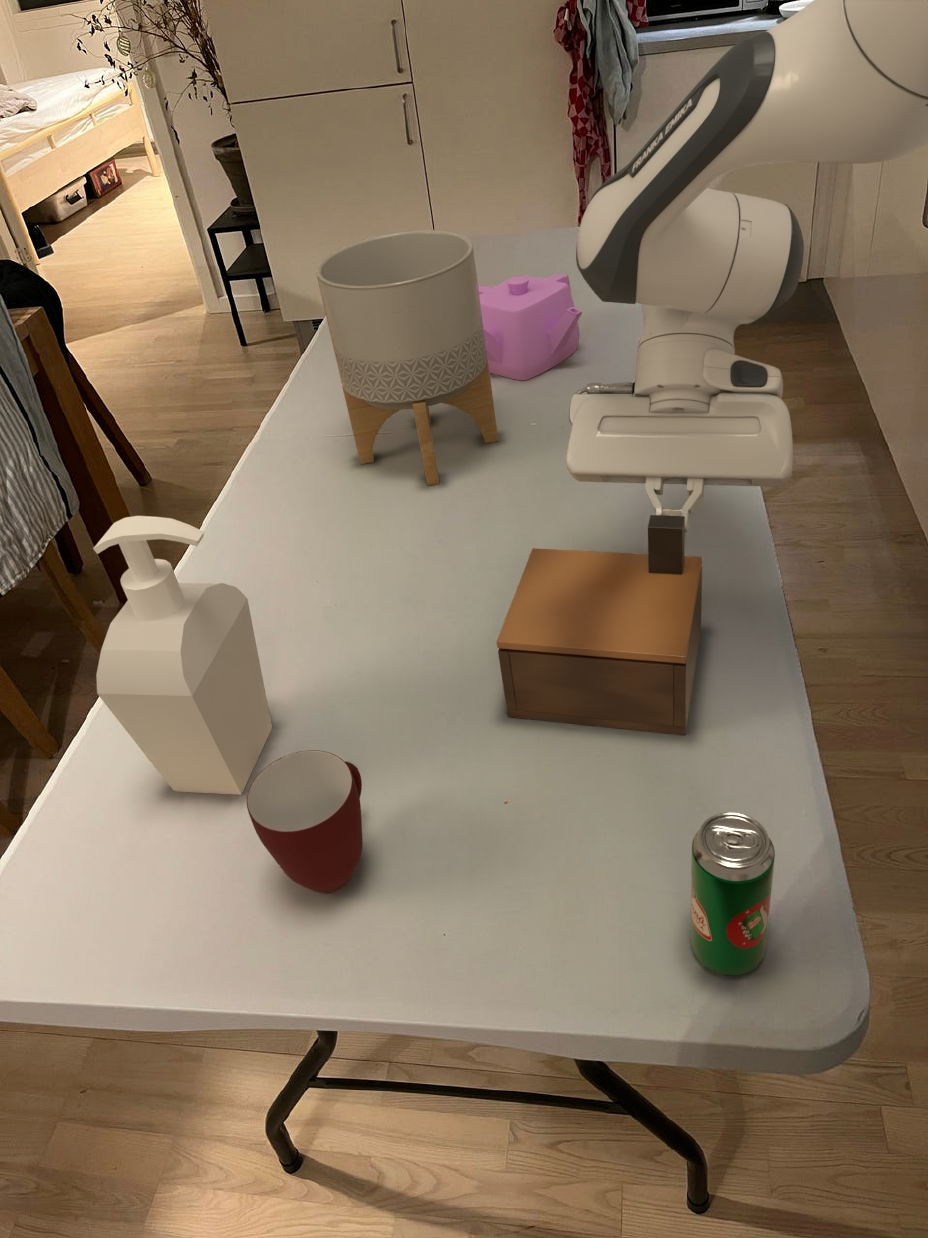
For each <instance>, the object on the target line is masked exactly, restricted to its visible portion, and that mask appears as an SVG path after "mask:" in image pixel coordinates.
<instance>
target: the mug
mask: <svg viewBox="0 0 928 1238" xmlns="http://www.w3.org/2000/svg"><path fill="white" fill-rule="evenodd" d="M362 781H363V780H362V775H361V773H360V770H359V769H358V767H357V766H356V765H355V764H354V763H352V762H350V761H345V760H344V759H342V758H341V757H340V756H338V755H336V754H334V753H332V752H328V751H326V750H325V751H324V750H317V749H316V750H315V749H310V750H300V751H296V752H292V753H289V754H287V755H284V756H282V757H279V758H278V759H276V760H274V761H273V762H271V763H269V764H268V765H267V766H266V767H264V768H263V769H262V770H261V771H260V772H259V773H258V774H257V775H256V777H255V778H254V780H253V781H252V783H251V784H250V787H249V789H248V792H247V795H246V808H247V813H248V815H249V817H250V820H251V823H252V825H253V828H254V830H255V833H256V835H257V837H258V839H259V840H260V842H261V844H262V845H263V846H264V848H265V849H266V851H267V852H268V853H269V854H270V856H271V857H272V858H273V860H274V861H275V862H276V863H277V864H278V866H279V868H280V869H281V870H282V872H283V873H284V874H285V875H286V876H287V877H288V878H289V879H290V880H291V881H293V882H294V883H296V884H297V885H299V886H301V887H303V888H306V889H307V890H311V891H313V892H316V893H322V894H326V893H327V894H328V893H333V892H336V891H338V890H340V889H342V888H343V887H344V886H346V885H347V884H348V883H349V881H350V880H351V879H352V877H353V875H354V873H355V871H356V869H357V867H358V864H359V862H360V859H361V857H362V852H363V826H362V821H363V820H362V808H361V795H362V789H363V787H362V786H363V782H362Z"/></svg>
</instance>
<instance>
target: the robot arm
mask: <svg viewBox="0 0 928 1238" xmlns="http://www.w3.org/2000/svg"><path fill="white" fill-rule="evenodd" d="M926 145H928V0H812V1H811V2H810V3H809V4H807V5H806V6H804V7H802V9H800V10H799V11H798V12H795V13H794V14H793V15H791V16H790V17H788V18H786V19H785V20H783V21H782V22H780V23H778V24H776V25H774V26H773V27H771V28H769V29H766V30H765V31H761V32H758V33H756V34H754V35H752V36H749V37H747V38H745V39H742V40H741V41H739V42H737V43H736V44H734V45H733V46H732V47H731V48H729V50H727V52H726V53H724V54H723V55H722V56H721V57H720V58H719V60H717V62H716V63H715V64H714V65H713V66H712V67H711V68H710V69H709V70H708V71H707V73H706V74H705V75H704V76H703V77H702V78H701V79H700V80H699V81H698V82H697V84H695V86H694V87H693V88H692V89H691V90H690V92H688V94H687V95H686V96H685V97H684V98H683V99H682V100H681V102H680V103H679V104H678V105H677V107H676V108H675V109H674V110H673V111H672V112H671V114H670V115H669V116H668V117H667V118H666V119H665V120H664V121H663V123H662V124H661V125H660V126H659V127H658V128H657V130H656V131H655V132H654V133H653V135H651V137H650V138H649V139H648V140H647V142H646V143H645V144H644V145H643V146H642V147H641V149H639V151H638V152H637V153H636V154H635V156H634V157H633V158H632V159H631V161H629V162H628V163H627V164H626V165H625V166H624V167H623V168H621V169H620V170H619V171H617V172H616V173H614V174H613V175H612V176H610V177H609V178H608V179H607V180H605V181H604V182H603V183H602V184H601V185H600V186H599V187H598V188H597V190H596V191H594V193H593V194H592V196H591V198H590V200H589V202H588V204H587V206H586V208H585V211H584V212H583V215H582V218H581V221H580V225H579V227H578V228H579V229H578V235H577V240H576V249H575V261H576V266H577V269H578V271H579V273H580V274H581V276H582V278H583V280H584V281H585V283H586V284H587V285H588V287H589V288H590V289H591V290H592V292H593V293H594V294H595V295H596V296H597V298H598V299H600V301H601V302H602V303H603V302H604V303H613V304H614V303H616V304H627V305H628V304H629V305H635V304H641V310H642V311H641V312H642V316H643V330H642V333H641V336H640V338H639V341H638V346H637V351H636V352H637V353H636V363H635V376H634V381H633V382H615V383H602V382H591V383H588V384H586V387H582V388H580V389H578V390H577V391H576V392H574V394H573V395H572V396H571V399H570V402H569V413H568V419H569V423H570V425H571V430H570V434H569V437H568V441H567V442H568V443H567V448H566V454H565V468H566V470H567V471H568V473H569V474H570V476H572V477H573V478H574V480H575V481H577V482H582V483H615V484H616V483H617V484H618V483H619V484H645V487H644V490H645V493H646V495H647V496H648V499H649V500H650V502H651V504H652V506H653V509H654V510H655V514H654V515H667V516H685V533H689V529H690V516H691V515H692V514H693V512H694V511H695V510H696V508H697V506H698V505H699V503H700V502H701V501H702V499H703V498H704V494H705V486H729V487H731V486H733V487H770V488H771V487H774V488H780V487H783V486H785V485H786V484H787V482H789V480H791V478H792V476H793V468H794V467H793V465H794V441H793V429H792V422H791V421H792V420H791V415H790V411H789V407H788V406H787V405H786V402H784V401H783V399H782V398H783V395H784V379H783V376H782V375H783V374H782V372H781V370H780V369H779V368H778V367H777V366H773V365H772V364H771V365H770V364H767V363H765V362H760V361H757V360H754V359H750V358H746V357H744V356H741V355H737V354H736V346H735V339H734V337H735V332H736V329H737V328H738V327H739V326H741V325H745V326H746V325H751V324H754V323H755V322H757V321H760V320H761V319H763V318H765V317H766V316H768V315H770V314H771V313H772V312H774V311H776V310H777V309H779V308H780V307H781V306H782V305H783V304H785V303H786V302H788V300H790V298H792V296H793V295H794V294H795V292H796V290H797V287H798V285H799V282H800V279H801V274H802V268H803V262H804V255H805V254H804V253H805V243H804V236H803V232H802V229H801V225H800V223H799V221H798V218H797V216H796V214H795V213H794V212H793V210H792V209H791V207H790V206H789V205H787V204H785V203H781V202H778V201H776V200H773V199H769V198H763V197H759V196H754V195H750V194H749V195H748V194H744V193H737V192H733V191H724V190H718V189H713V188H709V187H710V186H711V185H712V184H713V183H714V182H715V181H716V180H718V179H719V178H721V177H723V176H724V175H726V174H729V173H731V172H734V171H736V170H739V169H744V168H748V167H753V166H754V167H755V166H759V165H760V166H761V165H769V164H770V165H771V164H785V163H786V164H787V163H789V164H790V163H819V164H820V163H821V164H822V163H824V164H873V163H874V164H875V163H881V162H888V161H891V160H895V159H900V158H901V157H904V156H907V155H909V154H911V153H913V152H915V151H917V150H919V149H921V148H923V147H924V146H926ZM664 485H686V492H687V494H688V496H689V497H688V498H687V500H686V501H685V503H684V504H683V506H682V507H681V509H670V508H668V509H667V508H664V507H663V505H662V503H661V502H660V500H659V497H658V496H661V495H663V494H664Z"/></svg>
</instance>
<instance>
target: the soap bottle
mask: <svg viewBox="0 0 928 1238" xmlns="http://www.w3.org/2000/svg"><path fill="white" fill-rule="evenodd" d="M204 536H205V532H204V531H203V530H201V529H199V528H197V527H195V526H193V525H191V524H189V523H186V522H183V521H180V520H177V519H174V518H171V517H162V516H151V515H150V516H149V515H148V516H147V515H133V516H126V517H123V518H121V519H119V520H117V521H115V522H113V523H112V525H111V526H109V529H107V531H106V532H105V533H104V534H103V536H102V537H101V538H100V539H99V541H97V543H96V544H95V546H93V548H92V549H93V551H94V552H95V554H97V555H98V554H100V553H102V552H103V551H105V550H107V549H108V548H109V547H113V546H116V545H118V546H119V548H120V551H121V553H122V555H123V557H124V559H125V563H126V564H127V566H128V568H127V569H126V570H125V571H124V572H123V574H122V575H121V577H120V579H119V581H120V585H121V587H122V589H123V590H122V591H123V592H124V594H125V596H126V599H127V601H126V602H125V604H124V605H123V606H122V608H121V609H120V610H119V611H118V613H117V614H116V616H115V617H114V618H113V619H112V621H111V622H110V624H109V627H108V628H107V629H108V630H107V632H106V635H105V638H104V641H103V644H102V646H101V648H100V654H99V658H98V659H99V660H98V665H97V670H96V677H95V678H96V694H97V695H98V696H99V697H100V699H101V701H102V702H103V703H104V704H105V706H106V707H107V708H108V710H109V711H110V712H111V713H112V714H113V716H114V717H115V718H116V720H117V722H119V723H120V725H121V726H122V728H123V729H124V730H125V731H126V733H127V734H128V735H129V736H130V738H131V739H132V740H133V741H134V743H135V744H136V745H137V747H138V748H139V749H140V750H141V752H142V753H143V754H144V755H145V757H146V758H147V759H148V760H149V762H150V763H151V765H153V767H154V768H155V769H156V770H157V772H158V773H159V774H160V776H161V777H162V779H164V781H165V782H166V783H167V785H168V786H169V787H170V788H171V790H172V791H173V792H177V793H178V792H180V793H197V794H198V793H201V794H217V795H221V794H222V795H234V796H235V795H236V796H242V795H243V793H244V790H245V788H246V786H247V784H248V781H249V780H250V777H251V775H252V773H253V771H254V769H255V766H256V764H257V762H258V760H259V757H260V756H261V753H262V752H263V749H264V747H265V745H266V743H267V740H268V739H269V736H270V734H271V731H272V730H273V725H272V724H273V723H272V718H271V713H270V707H269V702H268V699H267V693H266V688H265V683H264V678H263V673H262V667H261V663H260V661H261V660H260V657H259V652H258V646H257V641H256V635H255V630H254V625H253V620H252V615H251V610H250V603H249V599H248V597H247V596H246V595H245V594H244V593H243V592H242V591H241V590H240V589H239V588H238V587H237V586H235V585H231V584H227V583H223V582H179V581H178V578H177V576H176V574H175V571H174V568H173V567H172V564H171V562H169V561H168V560H166V559H161V558H154V556H153V553H152V551H151V549H150V546H149V544H148V541H155V540H156V541H157V540H166V541H170V542H178V543H182V544H186V545H190V546H194V547H198V546H199V544H200V543H201V542H202V540H203V538H204Z"/></svg>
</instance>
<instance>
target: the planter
mask: <svg viewBox="0 0 928 1238" xmlns="http://www.w3.org/2000/svg"><path fill="white" fill-rule="evenodd" d="M473 245H474V244H473V242H472V240H471V239H470V238H468V237H467V236H466V235H464V234H461V233H459V232H455V231H450V230H444V229H443V230H442V229H441V230H438V229H416V230H404V231H397V232H390V233H386V234H385V233H384V234H380V235H376V236H371V237H367V238H365V239H362V240H358V241H356V242H352V243H350V244H347V245H345V246H343V247H340V248H339V249H336V250H334V251H332V252H331V253H330V254H327V256H325V257H324V258H322V259H321V260H320V262H319V263H318V264H317V266H316V268H315V274H316V279H317V283H318V287H319V291H320V296H321V300H322V304H323V305H322V306H323V309H324V313H325V317H326V322H327V326H328V330H329V335H330V339H331V343H332V346H333V347H332V348H333V353H334V356H335V360H336V366H337V369H338V373H339V378H340V381H341V387H342V391H343V395H344V400H345V405H346V408H347V409H346V410H347V413H348V417H349V422H350V427H351V430H352V434H353V438H354V444H355V447H356V451H357V457H358V461H359V463H360V465H364V464H370V463H374V462H375V456H374V447H375V441H376V438H377V435H378V433H379V431H380V430H381V428H382V427H383V425H384V424H385V423H386V422H387V421H388V420H389V419H390V418H391V417H392V416H393V415H395V414H397V413H398V412H400V411H401V410H402V411H407V410H413V416H414V421H415V427H416V432H417V438H418V442H419V443H418V444H419V448H420V454H421V459H422V464H423V468H424V469H423V470H424V475H425V480H426V485H427V486H428V487H429V486H430V487H431V486H434V485H440V477H439V471H438V466H437V459H436V454H435V447H434V442H433V436H432V429H431V424H432V421H431V413H430V407H431V406H435V405H439V404H444V405H448V406H451V407H455V408H457V409H459V410H460V411H463V412H464V413H465V414H467V415H468V416H469V417H470V418H471V419H472V420H473V421H474V422H475V423H476V425H477V426H478V428H479V430H480V432H481V434H482V437H483V442H484V444H489V443H495V442H499V435H498V426H497V420H496V412H495V404H494V395H493V387H492V381H491V373H490V372H489V364H488V360H487V351H486V343H485V335H484V328H483V320H482V312H481V304H480V297H479V289H478V286H479V281H478V275H477V267H476V260H475V258H476V257H475V251H474V246H473Z"/></svg>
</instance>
